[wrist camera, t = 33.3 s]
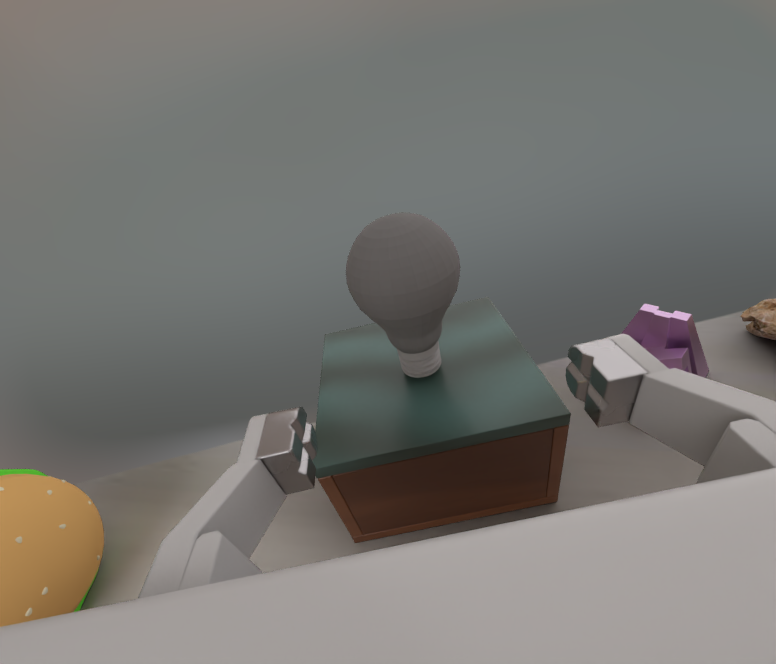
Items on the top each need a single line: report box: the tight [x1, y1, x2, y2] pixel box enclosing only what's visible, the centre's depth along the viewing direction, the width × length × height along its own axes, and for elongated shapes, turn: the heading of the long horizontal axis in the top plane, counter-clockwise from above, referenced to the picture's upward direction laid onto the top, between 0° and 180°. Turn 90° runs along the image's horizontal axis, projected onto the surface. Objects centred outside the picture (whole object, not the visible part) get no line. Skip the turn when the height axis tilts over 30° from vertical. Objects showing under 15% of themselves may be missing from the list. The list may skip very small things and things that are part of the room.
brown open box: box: [318, 425, 569, 543], centre depth 25 cm, size 12×14×8 cm
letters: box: [621, 304, 709, 378], centre depth 27 cm, size 8×7×6 cm
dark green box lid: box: [313, 297, 571, 478], centre depth 23 cm, size 12×14×1 cm
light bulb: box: [346, 213, 460, 378], centre depth 19 cm, size 6×6×10 cm
